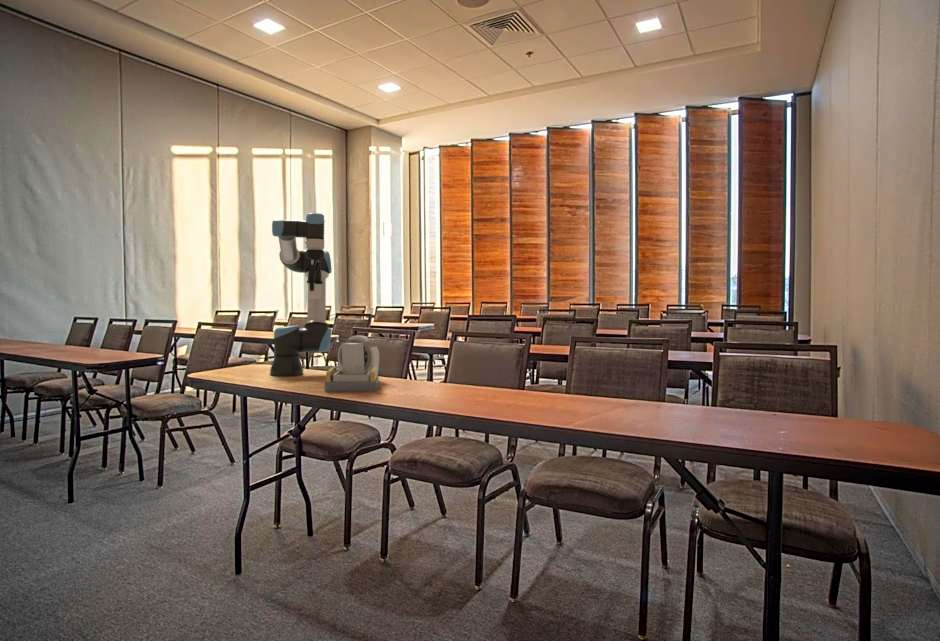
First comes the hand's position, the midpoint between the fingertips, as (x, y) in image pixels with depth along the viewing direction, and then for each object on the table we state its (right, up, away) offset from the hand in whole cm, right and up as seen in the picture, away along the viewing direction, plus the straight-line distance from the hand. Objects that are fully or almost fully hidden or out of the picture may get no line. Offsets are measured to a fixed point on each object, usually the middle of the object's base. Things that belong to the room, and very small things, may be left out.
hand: (314, 298), depth 246 cm
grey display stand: (+19, -39, -12) cm, 44 cm away
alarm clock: (+17, -37, +12) cm, 42 cm away
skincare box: (+19, -34, -12) cm, 40 cm away
